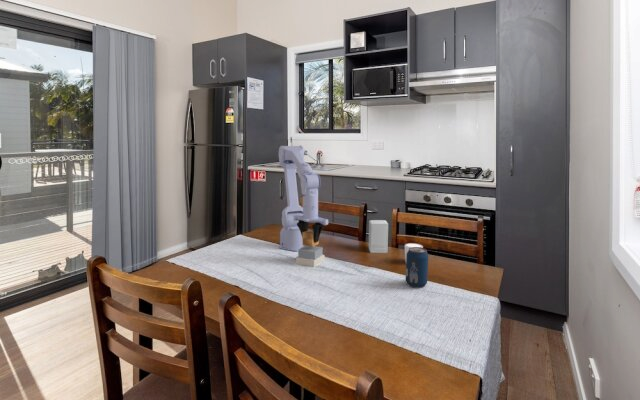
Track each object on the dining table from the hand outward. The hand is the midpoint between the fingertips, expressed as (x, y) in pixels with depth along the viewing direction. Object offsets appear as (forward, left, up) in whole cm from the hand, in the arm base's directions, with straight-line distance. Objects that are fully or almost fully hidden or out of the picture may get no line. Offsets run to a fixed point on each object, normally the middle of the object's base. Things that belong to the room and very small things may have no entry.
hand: (310, 241), depth 150 cm
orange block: (0, 0, -2) cm, 2 cm away
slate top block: (0, 0, -6) cm, 6 cm away
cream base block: (0, 0, -9) cm, 9 cm away
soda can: (+42, -1, -9) cm, 43 cm away
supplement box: (+16, +28, -9) cm, 33 cm away
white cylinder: (+34, +20, -9) cm, 40 cm away
